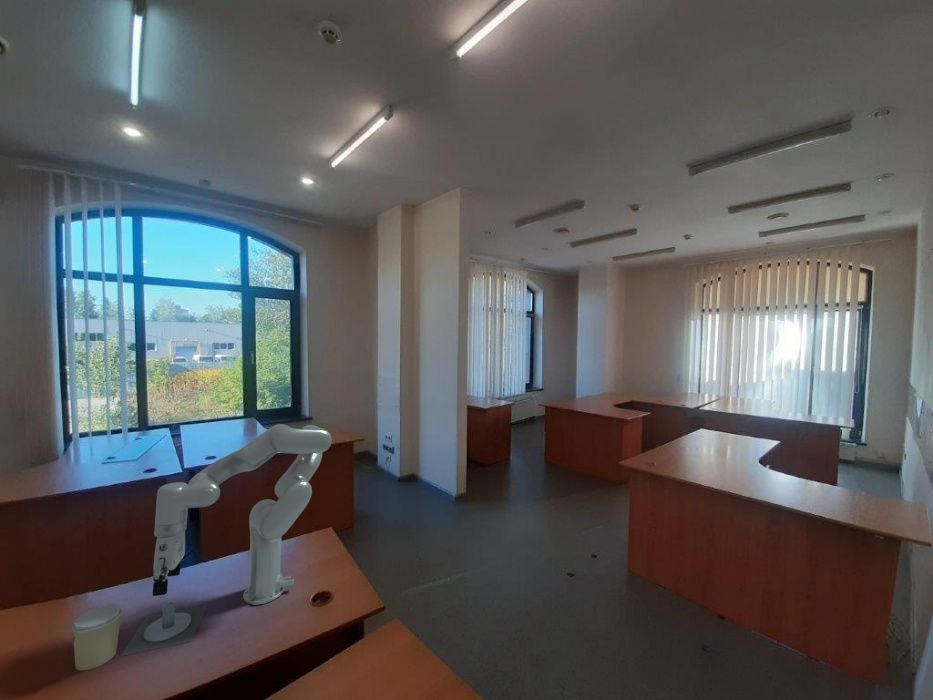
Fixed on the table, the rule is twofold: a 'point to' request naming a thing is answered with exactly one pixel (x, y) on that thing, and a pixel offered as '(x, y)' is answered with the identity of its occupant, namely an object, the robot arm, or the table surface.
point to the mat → (186, 636)
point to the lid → (167, 624)
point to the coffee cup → (96, 636)
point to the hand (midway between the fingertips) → (166, 584)
